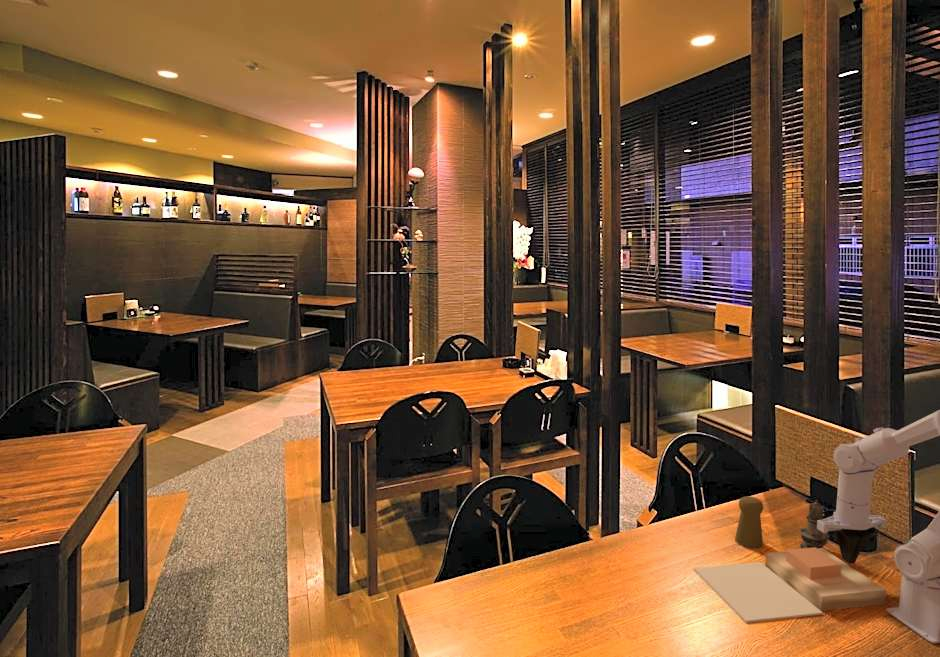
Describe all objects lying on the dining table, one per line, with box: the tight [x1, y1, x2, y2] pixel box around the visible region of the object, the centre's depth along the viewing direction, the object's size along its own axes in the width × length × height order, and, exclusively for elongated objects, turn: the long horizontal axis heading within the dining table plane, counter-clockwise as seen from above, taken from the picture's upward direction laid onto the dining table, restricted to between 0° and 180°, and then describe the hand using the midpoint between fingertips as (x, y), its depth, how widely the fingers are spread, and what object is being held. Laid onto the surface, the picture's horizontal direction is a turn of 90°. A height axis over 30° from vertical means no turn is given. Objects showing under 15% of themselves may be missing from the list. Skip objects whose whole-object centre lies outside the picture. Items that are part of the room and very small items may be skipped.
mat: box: [693, 561, 824, 624], centre depth 113 cm, size 18×16×1 cm
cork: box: [734, 496, 764, 550], centre depth 132 cm, size 6×6×11 cm
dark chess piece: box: [799, 499, 830, 550], centre depth 129 cm, size 6×6×12 cm
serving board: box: [764, 547, 887, 612], centre depth 115 cm, size 16×14×3 cm
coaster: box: [785, 547, 842, 579], centre depth 116 cm, size 7×7×2 cm
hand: (848, 560), depth 117 cm, fingers closed
